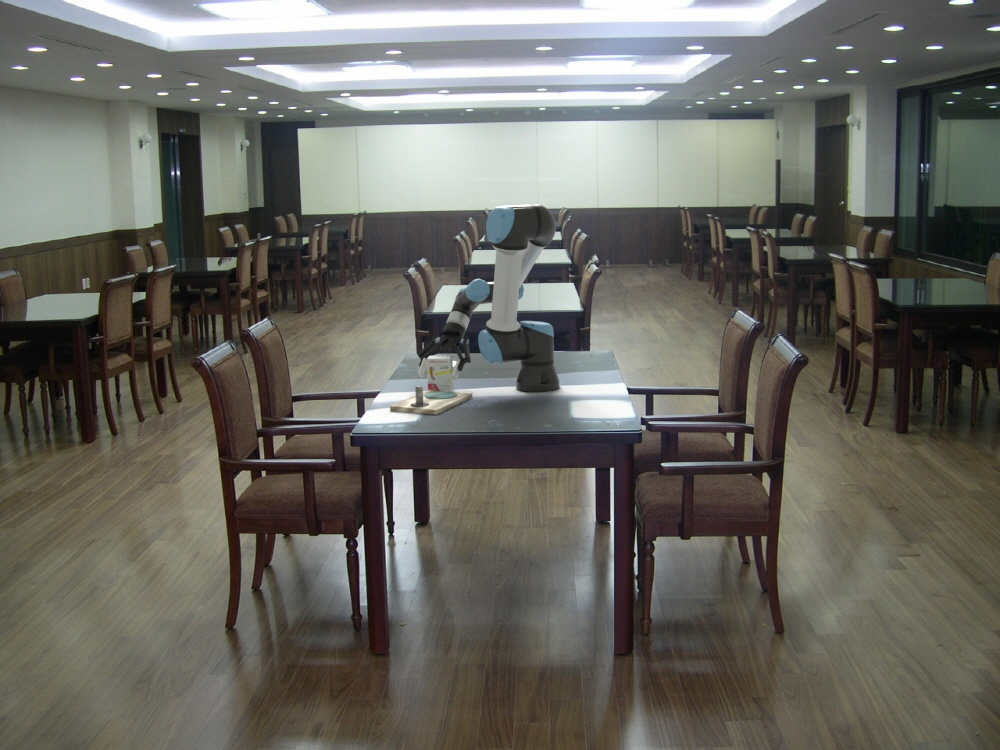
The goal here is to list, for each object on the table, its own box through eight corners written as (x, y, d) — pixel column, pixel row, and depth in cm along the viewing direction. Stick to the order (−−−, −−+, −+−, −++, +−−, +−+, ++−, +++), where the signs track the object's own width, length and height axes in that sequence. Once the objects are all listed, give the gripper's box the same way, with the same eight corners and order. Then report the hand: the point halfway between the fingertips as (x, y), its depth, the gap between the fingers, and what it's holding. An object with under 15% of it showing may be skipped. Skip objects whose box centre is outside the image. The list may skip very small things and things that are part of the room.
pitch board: (472, 397, 354) (471, 375, 352) (436, 414, 332) (435, 391, 330) (428, 394, 361) (427, 372, 360) (390, 410, 339) (388, 387, 338)
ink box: (427, 391, 366) (425, 358, 363) (429, 388, 370) (428, 355, 368) (451, 391, 365) (450, 357, 362) (453, 388, 369) (452, 355, 367)
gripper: (490, 334, 372) (472, 384, 362) (429, 331, 383) (410, 380, 373) (483, 322, 367) (464, 372, 357) (421, 319, 378) (401, 368, 368)
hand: (436, 376), depth 365 cm, fingers open, 13 cm apart
